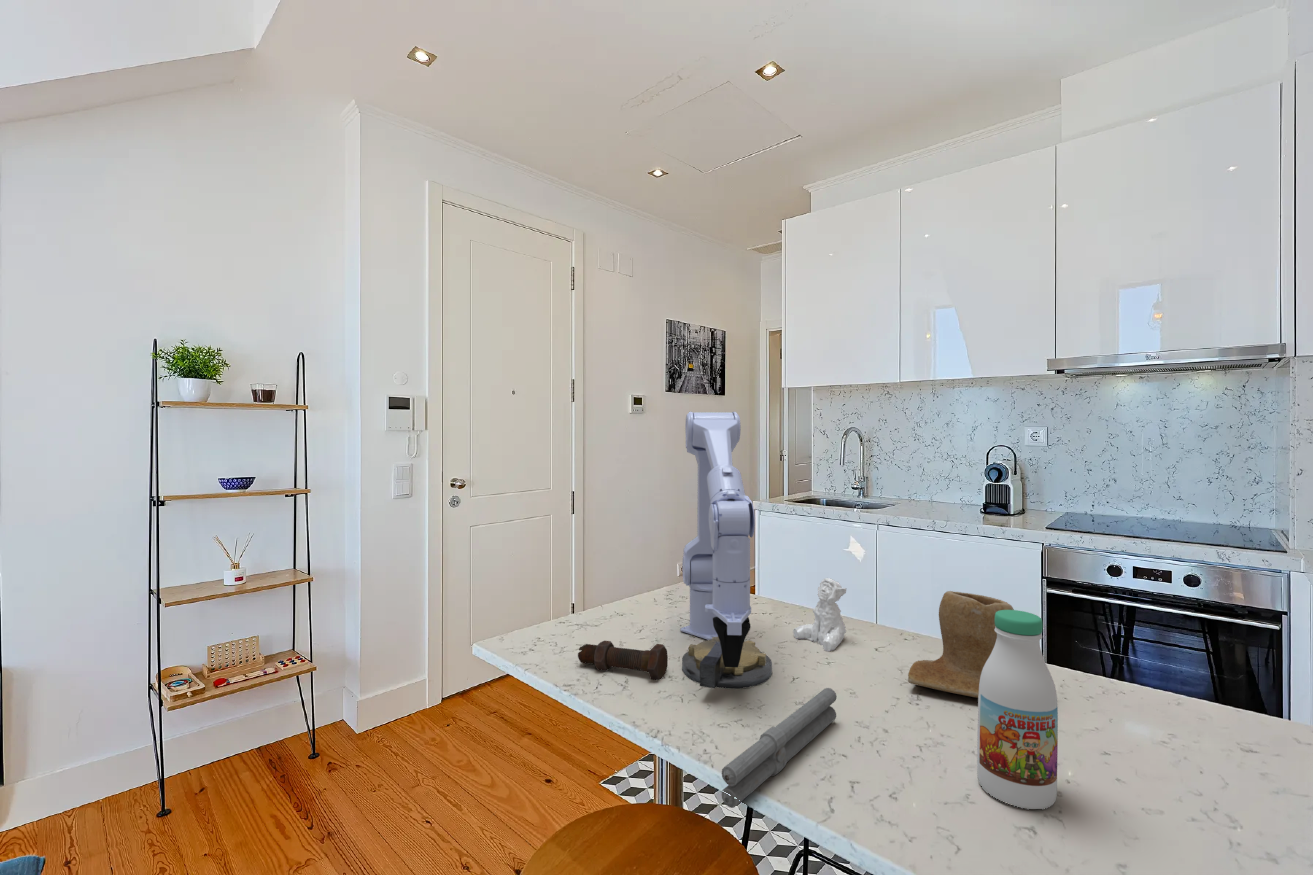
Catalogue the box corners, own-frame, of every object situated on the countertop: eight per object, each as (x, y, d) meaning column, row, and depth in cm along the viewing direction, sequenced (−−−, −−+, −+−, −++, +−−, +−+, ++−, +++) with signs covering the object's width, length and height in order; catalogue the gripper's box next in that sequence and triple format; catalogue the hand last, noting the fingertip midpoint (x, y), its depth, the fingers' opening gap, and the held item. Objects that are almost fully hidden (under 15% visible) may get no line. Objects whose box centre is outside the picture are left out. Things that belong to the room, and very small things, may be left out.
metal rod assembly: (820, 718, 85) (820, 683, 85) (839, 724, 83) (839, 689, 83) (715, 806, 65) (715, 761, 65) (737, 817, 64) (737, 770, 64)
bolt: (584, 673, 105) (664, 684, 99) (571, 668, 101) (654, 679, 95) (590, 638, 107) (670, 647, 102) (578, 632, 103) (660, 641, 98)
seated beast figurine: (790, 637, 117) (791, 575, 117) (821, 629, 122) (821, 570, 121) (828, 653, 109) (829, 587, 109) (860, 643, 114) (860, 580, 113)
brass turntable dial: (698, 642, 109) (698, 620, 109) (771, 651, 105) (771, 628, 105) (665, 684, 92) (665, 658, 91) (750, 697, 87) (751, 670, 87)
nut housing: (719, 645, 112) (719, 637, 112) (789, 668, 102) (789, 659, 102) (663, 669, 102) (663, 659, 102) (735, 697, 91) (735, 686, 91)
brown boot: (1018, 684, 96) (1019, 590, 96) (1022, 716, 85) (1023, 611, 85) (914, 666, 103) (915, 578, 103) (906, 693, 93) (908, 596, 92)
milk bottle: (962, 772, 72) (965, 605, 71) (1024, 769, 72) (1026, 603, 72) (1005, 814, 64) (1008, 627, 63) (1074, 810, 65) (1077, 625, 64)
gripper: (704, 566, 100) (704, 647, 101) (706, 590, 86) (706, 685, 86) (747, 567, 100) (746, 648, 100) (756, 591, 86) (756, 686, 86)
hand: (731, 665), depth 93 cm, fingers closed
